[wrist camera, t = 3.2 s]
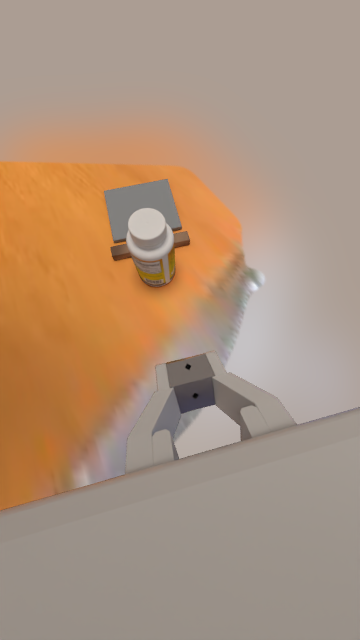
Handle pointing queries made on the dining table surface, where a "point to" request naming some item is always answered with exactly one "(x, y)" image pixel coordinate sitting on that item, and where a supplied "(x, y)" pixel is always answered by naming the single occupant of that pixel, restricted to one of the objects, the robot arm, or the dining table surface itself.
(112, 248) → the strip
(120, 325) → the dining table surface
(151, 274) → the supplement bottle
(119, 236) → the felt tile
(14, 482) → the dining table surface
